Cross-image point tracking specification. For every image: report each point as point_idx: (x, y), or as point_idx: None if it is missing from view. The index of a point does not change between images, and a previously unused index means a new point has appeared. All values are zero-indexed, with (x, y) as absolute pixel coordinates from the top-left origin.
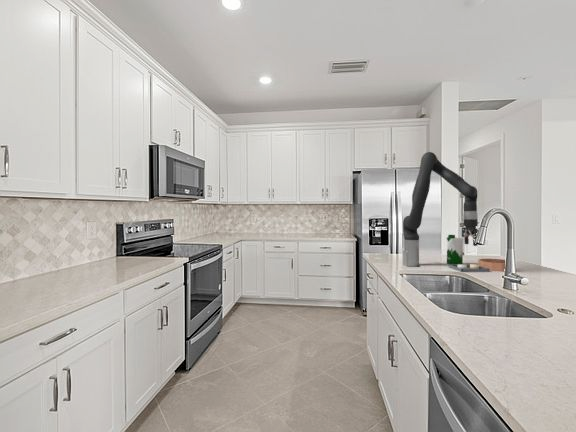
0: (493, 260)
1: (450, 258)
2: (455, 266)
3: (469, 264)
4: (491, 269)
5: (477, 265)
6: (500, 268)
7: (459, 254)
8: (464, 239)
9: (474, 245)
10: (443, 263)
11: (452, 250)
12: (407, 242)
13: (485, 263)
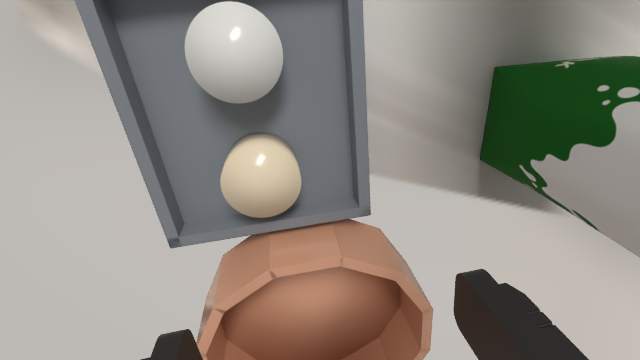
0: (406, 353)
1: (559, 68)
2: (345, 30)
3: (365, 175)
4: (223, 265)
5: (225, 194)
6: (203, 315)
7: (547, 169)
8: (556, 347)
9: (165, 342)
10: (601, 31)
11: (633, 105)
12: None
13: (256, 269)
